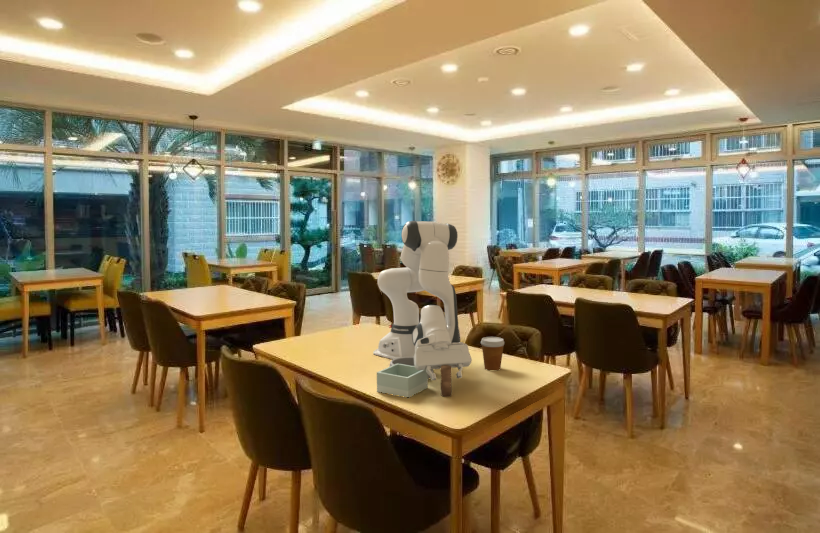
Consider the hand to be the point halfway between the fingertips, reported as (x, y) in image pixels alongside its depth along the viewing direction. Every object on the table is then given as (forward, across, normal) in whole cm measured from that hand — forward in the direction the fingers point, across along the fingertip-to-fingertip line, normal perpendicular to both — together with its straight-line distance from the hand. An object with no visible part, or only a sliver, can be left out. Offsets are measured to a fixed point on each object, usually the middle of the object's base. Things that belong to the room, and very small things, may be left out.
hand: (446, 378), depth 179 cm
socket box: (-3, +14, -11) cm, 18 cm away
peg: (+4, 0, -5) cm, 6 cm away
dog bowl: (-14, +7, -24) cm, 29 cm away
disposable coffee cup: (-14, -27, -23) cm, 38 cm away
